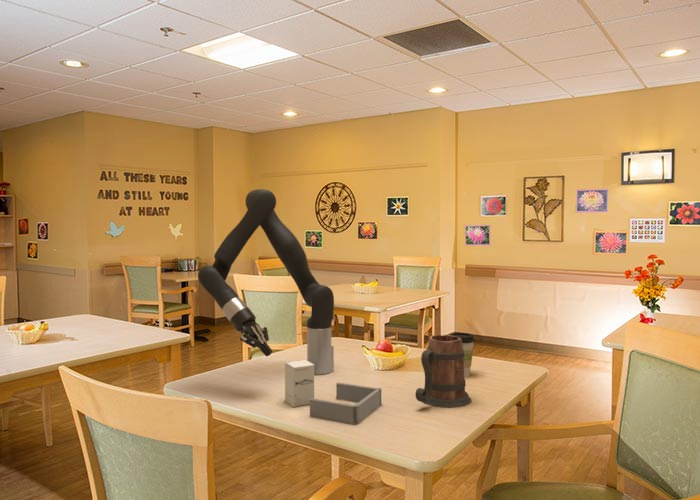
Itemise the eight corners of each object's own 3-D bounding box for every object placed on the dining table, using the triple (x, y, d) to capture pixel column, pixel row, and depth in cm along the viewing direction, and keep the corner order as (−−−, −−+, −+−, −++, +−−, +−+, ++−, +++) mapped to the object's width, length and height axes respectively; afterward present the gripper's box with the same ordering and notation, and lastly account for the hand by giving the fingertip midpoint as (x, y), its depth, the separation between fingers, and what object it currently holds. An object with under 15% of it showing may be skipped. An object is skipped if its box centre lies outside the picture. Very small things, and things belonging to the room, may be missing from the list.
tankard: (437, 387, 184) (437, 330, 183) (481, 398, 173) (482, 337, 172) (395, 405, 167) (396, 341, 166) (442, 418, 156) (442, 350, 155)
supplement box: (293, 407, 165) (292, 367, 164) (284, 400, 171) (284, 361, 171) (315, 404, 168) (314, 364, 167) (305, 397, 175) (305, 359, 174)
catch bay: (309, 416, 158) (309, 399, 157) (338, 397, 174) (338, 382, 174) (356, 424, 151) (356, 407, 151) (381, 404, 168) (381, 388, 167)
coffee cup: (445, 377, 196) (445, 336, 196) (450, 370, 206) (450, 331, 205) (472, 380, 193) (472, 338, 192) (476, 372, 202) (476, 333, 201)
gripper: (232, 309, 171) (264, 351, 166) (257, 304, 183) (287, 343, 178) (219, 324, 174) (250, 366, 169) (244, 318, 186) (274, 357, 181)
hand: (269, 354), depth 174 cm, fingers closed
